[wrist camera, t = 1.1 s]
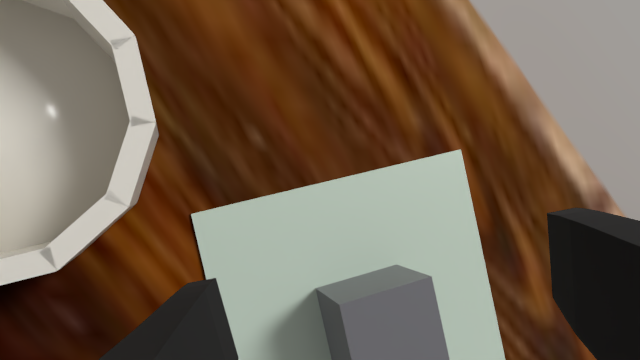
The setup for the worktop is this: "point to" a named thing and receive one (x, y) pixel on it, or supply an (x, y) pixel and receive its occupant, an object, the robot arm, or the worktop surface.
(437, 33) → the worktop surface
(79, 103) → the bowl
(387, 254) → the lid
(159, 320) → the robot arm
